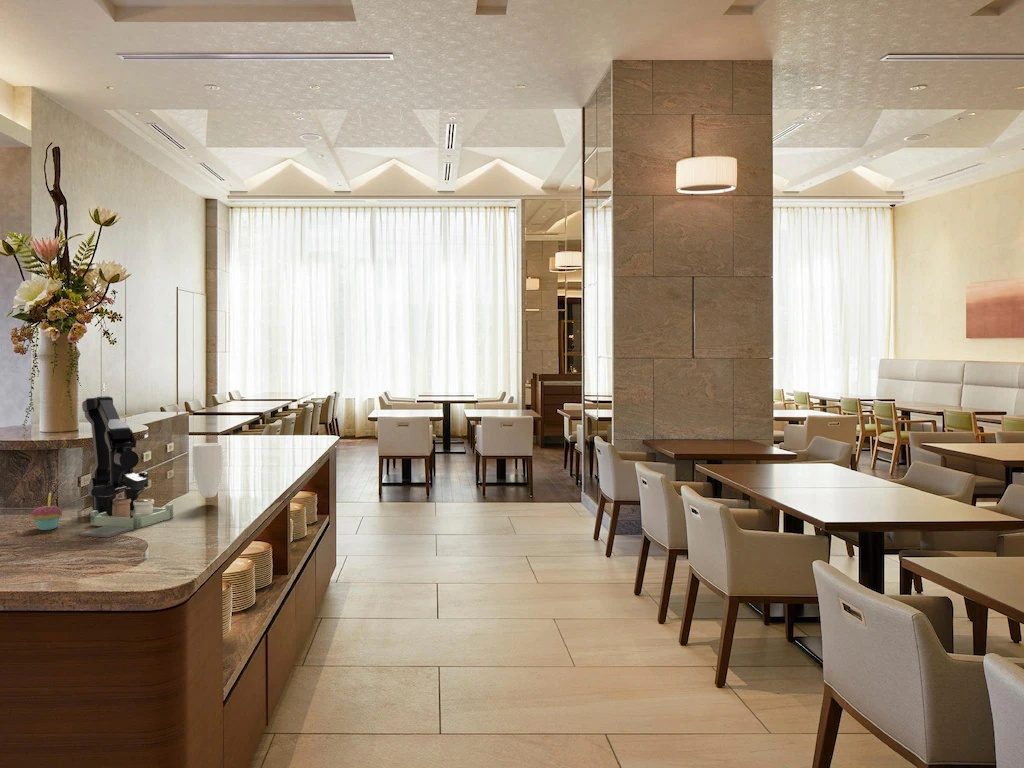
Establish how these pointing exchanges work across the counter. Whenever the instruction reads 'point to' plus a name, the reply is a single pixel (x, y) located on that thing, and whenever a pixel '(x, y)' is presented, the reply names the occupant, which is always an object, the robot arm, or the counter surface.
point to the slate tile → (106, 531)
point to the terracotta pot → (121, 507)
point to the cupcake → (46, 516)
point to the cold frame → (134, 522)
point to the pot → (144, 506)
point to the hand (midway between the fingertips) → (121, 513)
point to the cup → (208, 467)
